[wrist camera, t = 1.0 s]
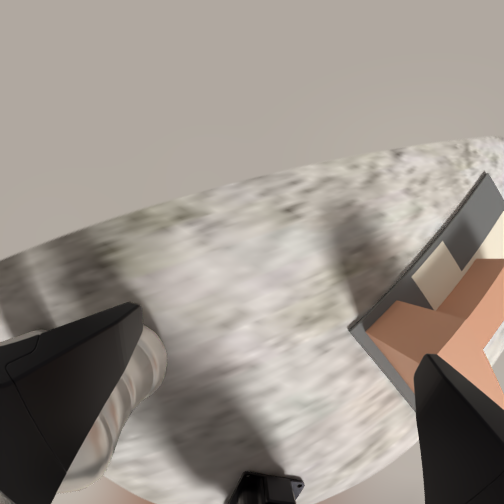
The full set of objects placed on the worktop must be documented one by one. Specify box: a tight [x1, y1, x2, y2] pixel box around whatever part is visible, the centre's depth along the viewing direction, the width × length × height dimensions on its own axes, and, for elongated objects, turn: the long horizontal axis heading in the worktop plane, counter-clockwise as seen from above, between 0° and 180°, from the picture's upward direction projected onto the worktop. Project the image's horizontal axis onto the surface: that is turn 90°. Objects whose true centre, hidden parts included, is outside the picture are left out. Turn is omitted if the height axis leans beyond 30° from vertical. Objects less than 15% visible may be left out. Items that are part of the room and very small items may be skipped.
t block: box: [366, 259, 504, 410], centre depth 21 cm, size 14×12×10 cm
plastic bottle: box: [57, 325, 167, 493], centre depth 15 cm, size 6×7×20 cm
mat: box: [349, 173, 504, 412], centre depth 26 cm, size 24×14×1 cm, turn 131°
